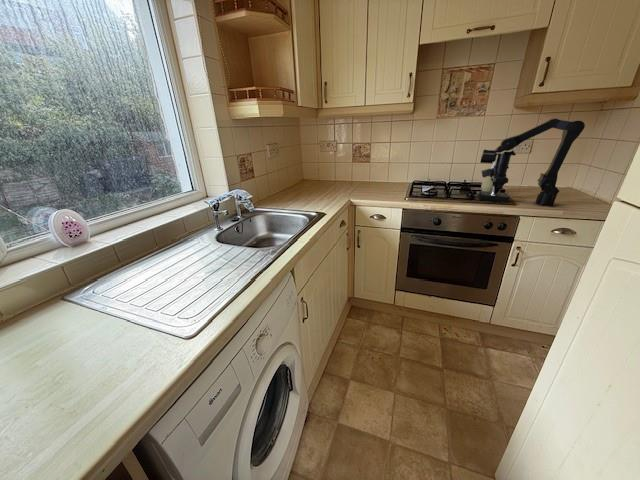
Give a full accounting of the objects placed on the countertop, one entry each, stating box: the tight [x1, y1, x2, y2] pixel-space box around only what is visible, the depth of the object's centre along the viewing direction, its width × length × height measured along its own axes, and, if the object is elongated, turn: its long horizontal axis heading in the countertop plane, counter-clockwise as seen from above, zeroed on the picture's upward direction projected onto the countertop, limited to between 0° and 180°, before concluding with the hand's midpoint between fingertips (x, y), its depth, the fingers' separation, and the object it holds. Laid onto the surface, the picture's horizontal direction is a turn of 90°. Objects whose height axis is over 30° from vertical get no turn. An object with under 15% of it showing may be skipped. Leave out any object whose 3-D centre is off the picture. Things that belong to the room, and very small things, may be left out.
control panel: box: [478, 190, 511, 204], centre depth 145 cm, size 13×10×3 cm
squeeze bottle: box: [480, 161, 496, 192], centre depth 155 cm, size 8×8×18 cm
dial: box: [490, 185, 501, 195], centre depth 144 cm, size 4×4×5 cm
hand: (494, 193), depth 144 cm, fingers closed on dial, 4 cm apart
